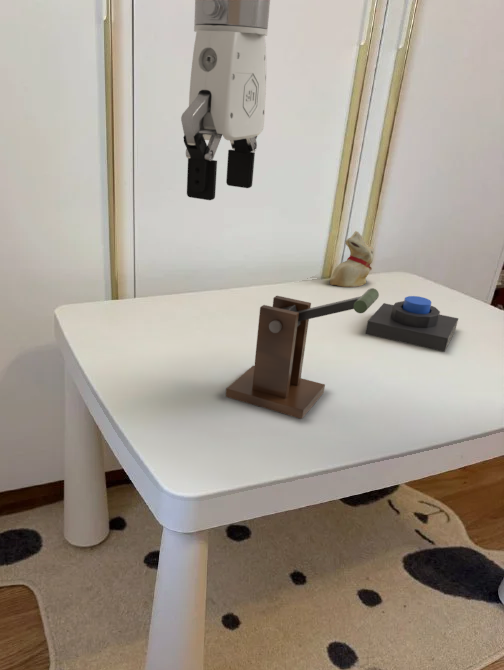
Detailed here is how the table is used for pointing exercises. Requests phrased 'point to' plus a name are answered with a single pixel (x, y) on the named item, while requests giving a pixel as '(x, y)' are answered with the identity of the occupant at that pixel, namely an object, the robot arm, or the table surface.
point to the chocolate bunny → (354, 263)
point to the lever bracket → (279, 363)
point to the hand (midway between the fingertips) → (220, 192)
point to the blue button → (417, 305)
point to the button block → (412, 326)
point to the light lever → (338, 306)
